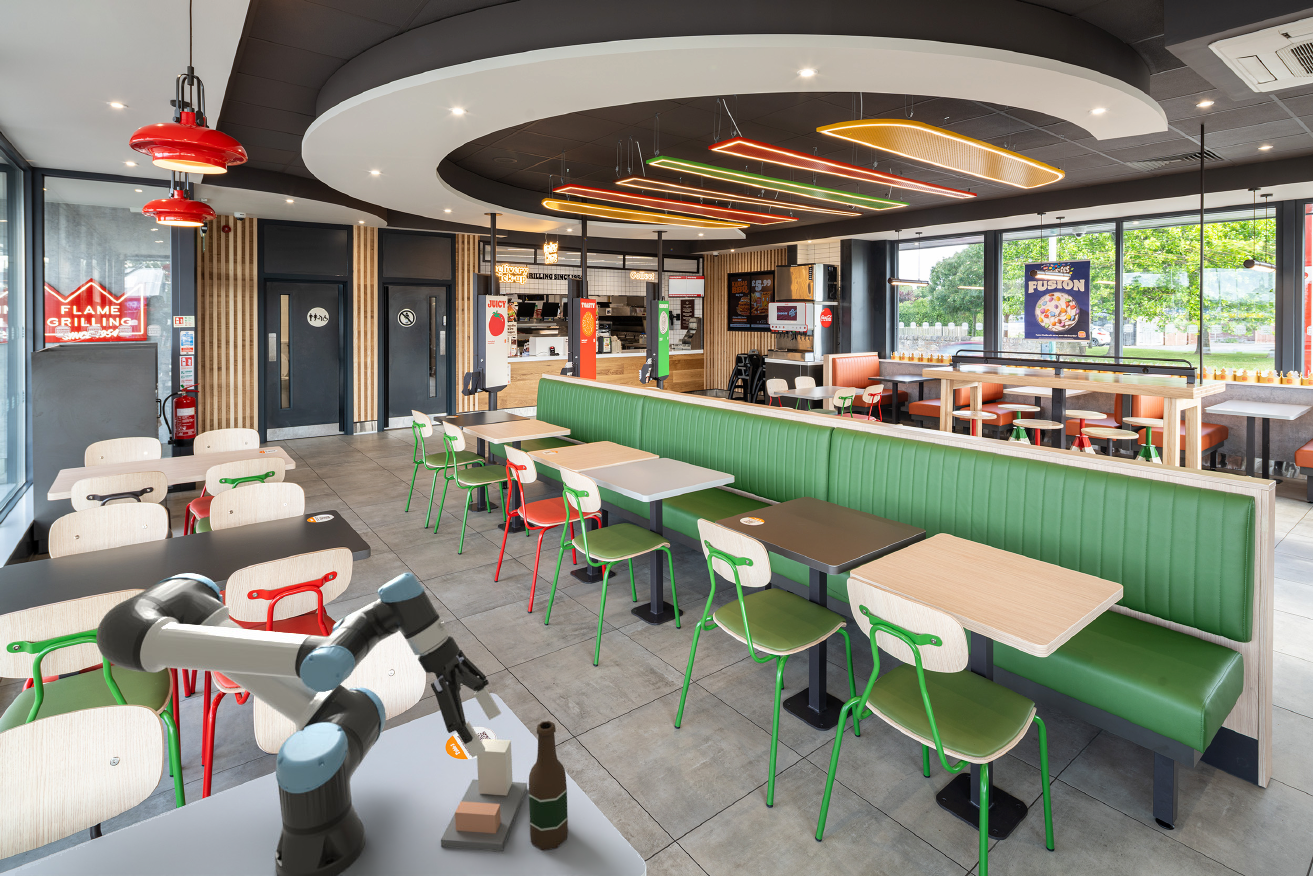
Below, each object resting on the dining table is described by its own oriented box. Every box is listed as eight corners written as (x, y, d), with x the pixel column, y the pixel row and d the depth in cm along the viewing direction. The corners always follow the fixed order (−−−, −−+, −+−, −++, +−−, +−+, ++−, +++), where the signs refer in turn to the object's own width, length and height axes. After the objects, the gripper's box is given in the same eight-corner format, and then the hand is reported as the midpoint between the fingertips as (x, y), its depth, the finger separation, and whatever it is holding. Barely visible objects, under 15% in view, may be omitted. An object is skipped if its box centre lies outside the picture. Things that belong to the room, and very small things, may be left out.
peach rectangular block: (455, 830, 130) (454, 812, 129) (461, 819, 133) (460, 801, 132) (495, 833, 129) (495, 815, 128) (500, 822, 132) (500, 804, 131)
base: (441, 846, 128) (440, 839, 127) (473, 785, 144) (472, 779, 144) (502, 851, 127) (501, 844, 126) (527, 789, 143) (526, 783, 143)
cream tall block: (478, 793, 139) (476, 750, 138) (485, 780, 143) (483, 738, 142) (506, 795, 139) (505, 752, 137) (512, 782, 143) (510, 740, 141)
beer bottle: (561, 854, 126) (558, 740, 122) (522, 848, 127) (518, 735, 123) (574, 824, 133) (572, 715, 129) (537, 818, 135) (534, 711, 131)
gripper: (429, 664, 120) (489, 761, 122) (467, 613, 145) (515, 695, 147) (393, 684, 120) (453, 780, 122) (437, 629, 145) (486, 710, 147)
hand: (487, 734), depth 134 cm, fingers open, 13 cm apart
